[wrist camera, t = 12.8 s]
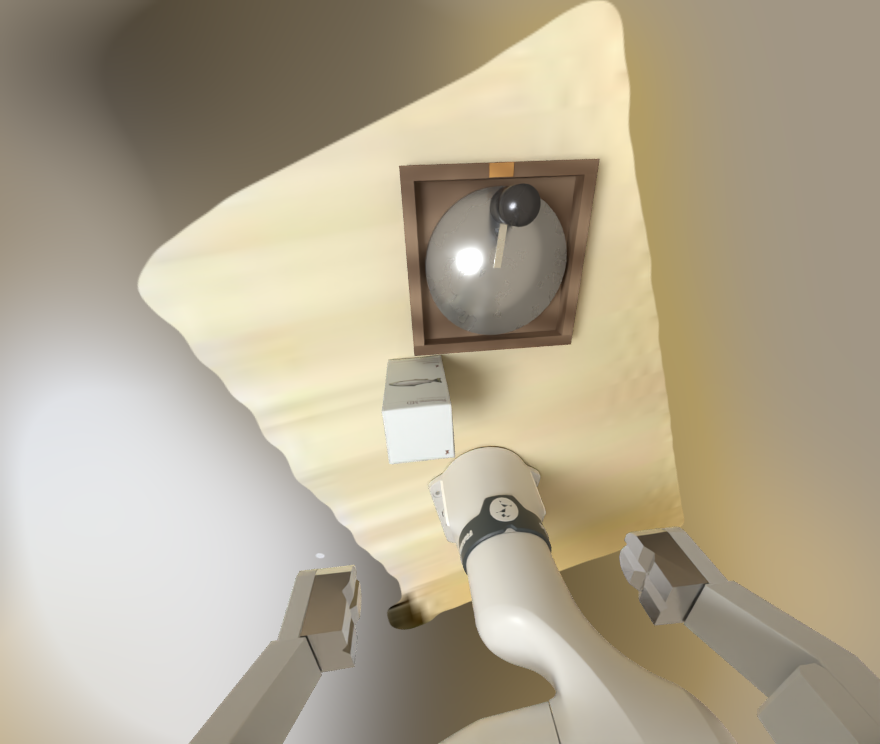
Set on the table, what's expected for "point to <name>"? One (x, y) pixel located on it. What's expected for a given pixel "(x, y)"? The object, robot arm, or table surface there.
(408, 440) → the supplement box
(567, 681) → the robot arm
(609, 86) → the table surface
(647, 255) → the table surface
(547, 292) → the dial
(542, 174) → the dial housing
